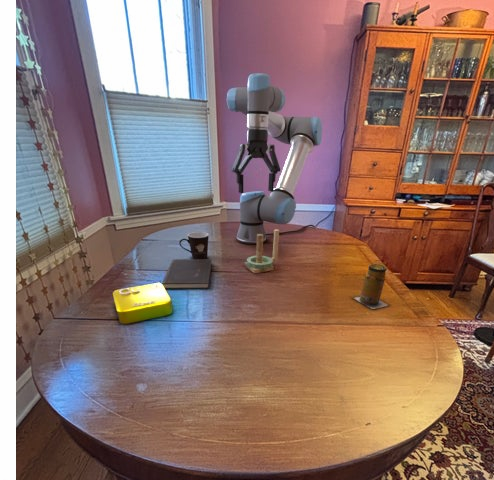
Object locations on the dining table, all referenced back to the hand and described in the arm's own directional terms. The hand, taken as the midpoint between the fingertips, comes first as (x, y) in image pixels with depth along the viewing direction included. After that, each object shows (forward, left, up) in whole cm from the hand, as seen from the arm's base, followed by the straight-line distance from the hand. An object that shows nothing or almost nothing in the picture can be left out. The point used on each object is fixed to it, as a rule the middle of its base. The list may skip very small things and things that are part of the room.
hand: (256, 192), depth 119 cm
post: (+5, +13, -27) cm, 30 cm away
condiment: (-14, +55, -27) cm, 63 cm away
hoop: (+3, +13, -25) cm, 29 cm away
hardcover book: (+33, +9, -27) cm, 44 cm away
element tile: (+53, +27, -27) cm, 65 cm away
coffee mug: (+24, -9, -27) cm, 37 cm away
